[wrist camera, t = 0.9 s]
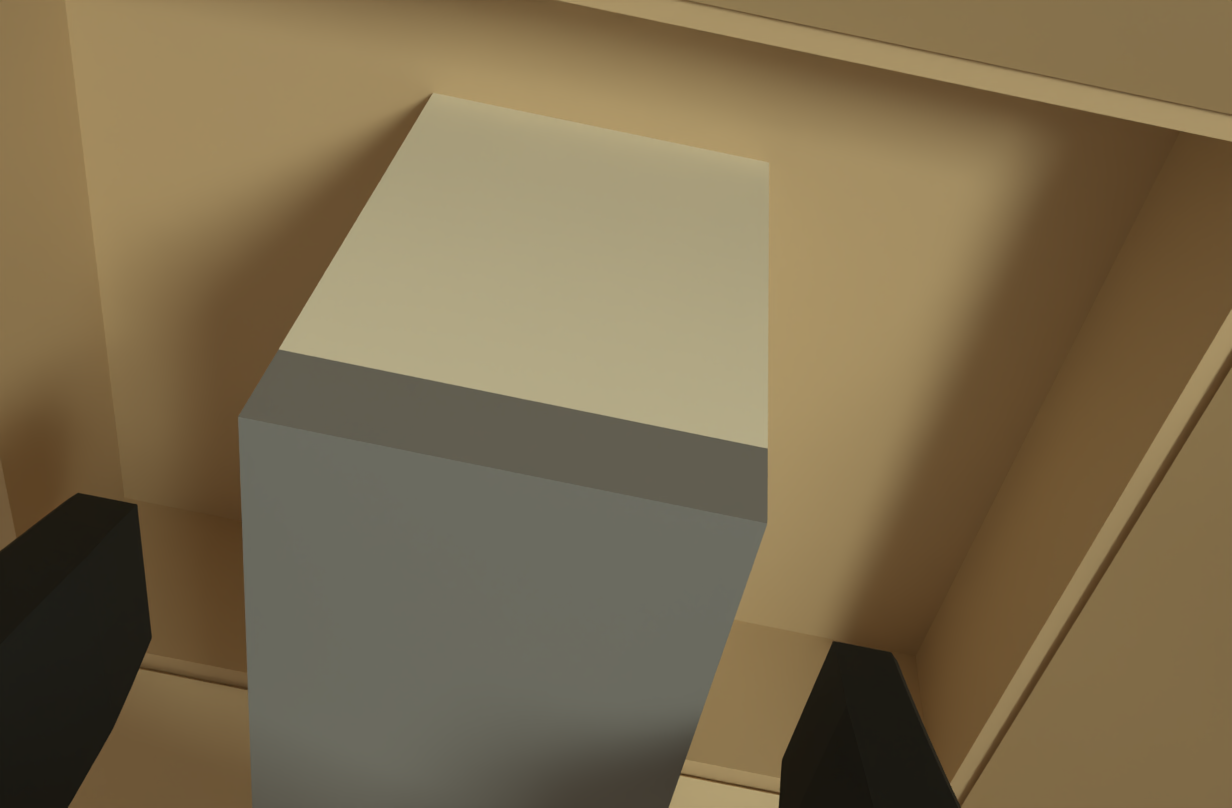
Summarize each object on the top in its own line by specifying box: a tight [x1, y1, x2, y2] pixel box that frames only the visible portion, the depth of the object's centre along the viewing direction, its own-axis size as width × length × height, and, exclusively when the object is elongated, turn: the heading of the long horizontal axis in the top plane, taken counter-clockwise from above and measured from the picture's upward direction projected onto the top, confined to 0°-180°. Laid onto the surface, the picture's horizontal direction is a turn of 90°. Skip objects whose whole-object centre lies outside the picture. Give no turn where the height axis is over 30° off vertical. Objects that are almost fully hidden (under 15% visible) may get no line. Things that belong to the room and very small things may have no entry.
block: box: [238, 93, 769, 808], centre depth 14 cm, size 4×6×7 cm
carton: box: [0, 0, 1232, 808], centre depth 15 cm, size 18×18×6 cm
